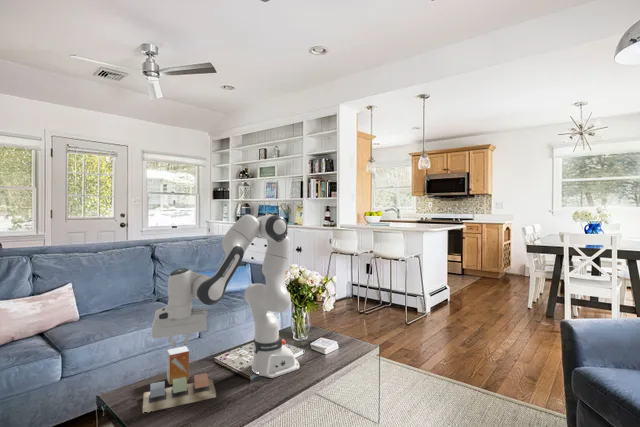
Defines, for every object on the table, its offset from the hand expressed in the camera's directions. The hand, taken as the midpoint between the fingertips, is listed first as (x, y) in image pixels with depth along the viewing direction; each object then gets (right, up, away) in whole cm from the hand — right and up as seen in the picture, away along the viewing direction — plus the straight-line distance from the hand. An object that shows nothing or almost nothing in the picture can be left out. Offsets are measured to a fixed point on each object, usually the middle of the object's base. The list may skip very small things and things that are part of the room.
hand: (179, 345), depth 136 cm
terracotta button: (+7, -18, +4) cm, 19 cm away
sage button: (0, -18, +1) cm, 17 cm away
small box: (-7, -21, +14) cm, 26 cm away
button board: (0, -21, +1) cm, 21 cm away
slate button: (-8, -18, -3) cm, 19 cm away
